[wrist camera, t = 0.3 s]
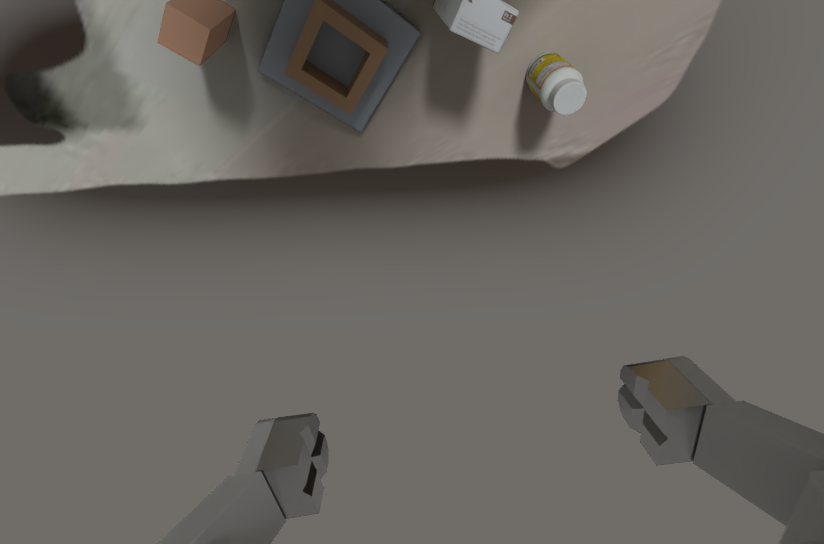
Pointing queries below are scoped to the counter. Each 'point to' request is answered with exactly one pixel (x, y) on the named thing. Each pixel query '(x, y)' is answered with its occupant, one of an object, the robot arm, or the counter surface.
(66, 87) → the counter surface
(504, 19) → the skincare box
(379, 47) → the collar socket
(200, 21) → the terracotta peg
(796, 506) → the robot arm
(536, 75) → the supplement bottle
